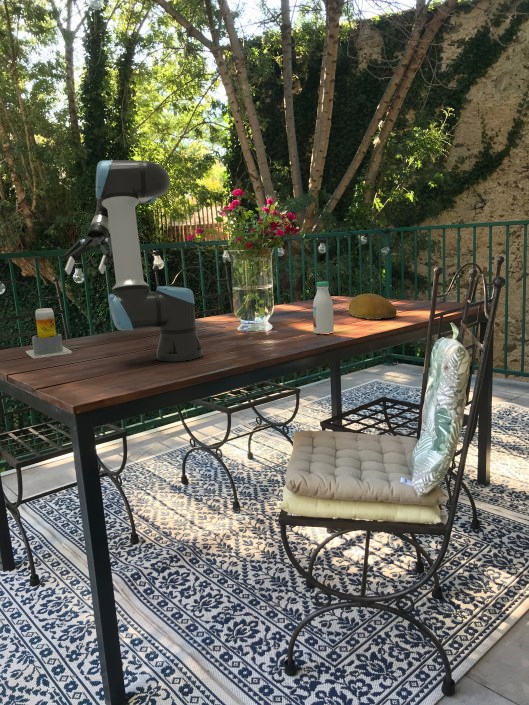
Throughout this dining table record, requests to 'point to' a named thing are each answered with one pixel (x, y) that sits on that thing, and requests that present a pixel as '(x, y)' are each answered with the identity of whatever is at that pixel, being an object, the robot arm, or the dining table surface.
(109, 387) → the dining table surface
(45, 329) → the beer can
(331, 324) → the milk bottle
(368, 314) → the bread
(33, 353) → the grey can holder
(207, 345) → the dining table surface
